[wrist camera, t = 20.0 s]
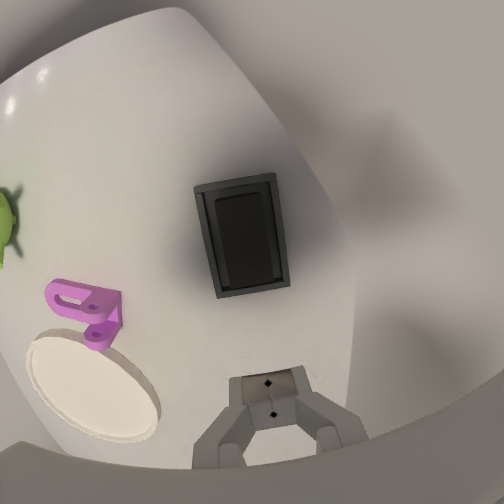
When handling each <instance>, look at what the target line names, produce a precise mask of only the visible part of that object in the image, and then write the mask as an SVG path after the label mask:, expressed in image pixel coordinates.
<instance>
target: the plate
mask: <svg viewBox="0 0 504 504" xmlns="http://www.w3.org/2000/svg"><path fill="white" fill-rule="evenodd" d="M25 361H26V367H27V373H28V375H29V377H30V380H31V382H32V384H33V386H34V388H35V389H36V391H37V392H38V394H39V395H40V397H41V398H42V399H43V400H44V402H45V403H46V404H47V405H48V406H49V407H50V408H51V409H52V410H53V411H54V412H55V413H56V414H57V415H59V416H60V417H61V418H62V419H63V420H65V421H66V422H68V423H69V424H71V425H72V426H74V427H76V428H77V429H79V430H81V431H83V432H85V433H87V434H89V435H91V436H94V437H97V438H100V439H103V440H107V441H111V442H119V443H133V442H139V441H142V440H144V439H147V438H149V437H150V436H151V435H152V434H153V433H154V432H155V430H156V427H157V424H158V421H159V417H160V405H159V399H158V397H157V395H156V393H155V391H154V389H153V387H152V385H151V384H150V383H149V381H148V380H147V379H146V378H145V376H144V375H143V374H142V373H141V371H140V370H139V369H138V368H137V367H135V366H134V365H133V364H132V363H131V362H130V361H129V360H127V359H126V358H125V357H124V356H123V355H122V354H120V353H118V352H117V351H115V350H114V349H112V348H111V347H109V348H107V349H105V350H102V351H94V350H91V349H89V348H88V347H87V346H86V344H85V339H84V333H80V332H76V331H72V330H68V329H50V330H48V331H45V332H43V333H41V334H39V336H38V337H37V338H36V339H35V340H34V341H33V342H32V344H31V345H30V346H29V348H28V349H27V353H26V359H25Z"/></svg>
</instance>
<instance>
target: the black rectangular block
mask: <svg viewBox="0 0 504 504" xmlns="http://www.w3.org/2000/svg"><path fill="white" fill-rule="evenodd" d="M214 205H215V210H216V215H217V221H218V226H219V231H220V236H221V241H222V246H223V251H224V257H225V262H226V266H227V271H228V276H229V281H230V286H231V289H233V288H239V287H245V286H251V285H256V284H262V283H268V282H273V281H274V276H273V269H272V262H271V255H270V248H269V241H268V235H267V228H266V221H265V215H264V208H263V202H262V195H261V194H260V193H259V192H254V193H247V194H241V195H236V196H230V197H224V198H219V199H216V200H215V202H214Z"/></svg>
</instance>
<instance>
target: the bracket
mask: <svg viewBox="0 0 504 504" xmlns="http://www.w3.org/2000/svg"><path fill="white" fill-rule="evenodd" d="M58 294H59V295H62V296H66V297H70V298H74V299H78V300H80V301H81V302H82V303H81V305H76V304H72V303H68V302H65V301H62V300H61V299H60V298H59V295H58ZM45 298H46V301H47V303H48V305H49V307H50V308H51V309H52V310H53V311H54V312H55V313H56V314H58V315H60V316H63V317H67V318H70V319H74V320H78V321H81V322H85V323H89V324H90V325H89V326H88V328H87V329H86V330H85V332H84V339H85V344H86V346H87V347H88V348H89V349H91V350H94V351H102V350H105V349H107V348H109V347H110V345H111V344H112V342H113V340H114V338H115V337H116V335H117V333H118V332H119V330H120V328H121V327H122V316H121V295H120V291H115V290H110V289H105V288H100V287H95V286H90V285H85V284H81V283H76V282H72V281H67V280H63V279H55V280H53V281H52V282H51V283H50V284H48V285H47V287H46V289H45Z"/></svg>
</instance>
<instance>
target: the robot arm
mask: <svg viewBox="0 0 504 504" xmlns="http://www.w3.org/2000/svg"><path fill="white" fill-rule="evenodd" d="M294 424H297V425H298V426H299V427H300V428H302V429H303V430H304V431H305V432H306V433H307V434H309V435H310V436H311V437H312V438H313V439H314V440H316V441H317V449H316V455H312V456H308V457H303V458H299V459H294V460H288V461H282V462H276V463H270V464H263V465H255V466H247V465H246V462H245V460H244V458H243V453H244V451H245V450H246V448H247V446H248V444H249V443H250V441H251V439H252V437H253V436H254V434H255V431H259V430H265V429H270V428H275V427H282V426H288V425H294ZM0 504H504V369H503V370H502V371H501V372H499V373H498V374H496V375H495V376H493V377H492V378H491V379H489V380H488V381H486V382H485V383H483V384H482V385H480V386H478V387H477V388H475V389H474V390H472V391H470V392H469V393H467V394H466V395H464V396H462V397H460V398H459V399H457V400H455V401H453V402H452V403H450V404H448V405H446V406H444V407H442V408H441V409H439V410H437V411H435V412H433V413H431V414H429V415H427V416H424V417H422V418H420V419H418V420H416V421H414V422H411V423H409V424H407V425H405V426H403V427H400V428H397V429H395V430H393V431H390V432H387V433H385V434H383V435H379V436H377V437H374V438H371V439H369V438H368V436H367V433H366V431H365V429H364V427H363V424H362V423H361V420H360V418H359V416H357V415H355V414H353V413H352V412H350V411H348V410H346V409H344V408H343V407H341V406H339V405H338V404H336V403H334V402H333V401H331V400H329V399H327V398H326V397H324V396H323V395H321V394H319V393H318V392H312V389H311V386H310V383H309V380H308V377H307V374H306V372H305V369H304V366H303V365H302V366H297V367H293V368H291V369H290V368H289V369H284V370H279V371H273V372H268V373H262V374H255V375H247V376H242V377H232V378H230V379H229V407H225V409H224V410H223V411H222V412H221V413H220V415H219V416H218V417H217V418H216V419H215V421H214V422H213V423H212V424H211V425H210V427H209V428H208V429H207V430H206V431H205V432H204V434H203V435H202V436H201V437H200V438H199V439H198V440H197V442H196V443H195V444H194V449H193V460H192V469H160V468H146V467H136V466H127V465H119V464H112V463H106V462H100V461H95V460H90V459H85V458H80V457H76V456H72V455H68V454H64V453H60V452H56V451H53V450H49V449H46V448H43V447H40V446H37V445H34V444H31V443H28V442H25V441H20V442H18V443H16V444H14V445H12V446H10V447H8V448H7V449H5V450H3V451H2V452H0Z"/></svg>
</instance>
